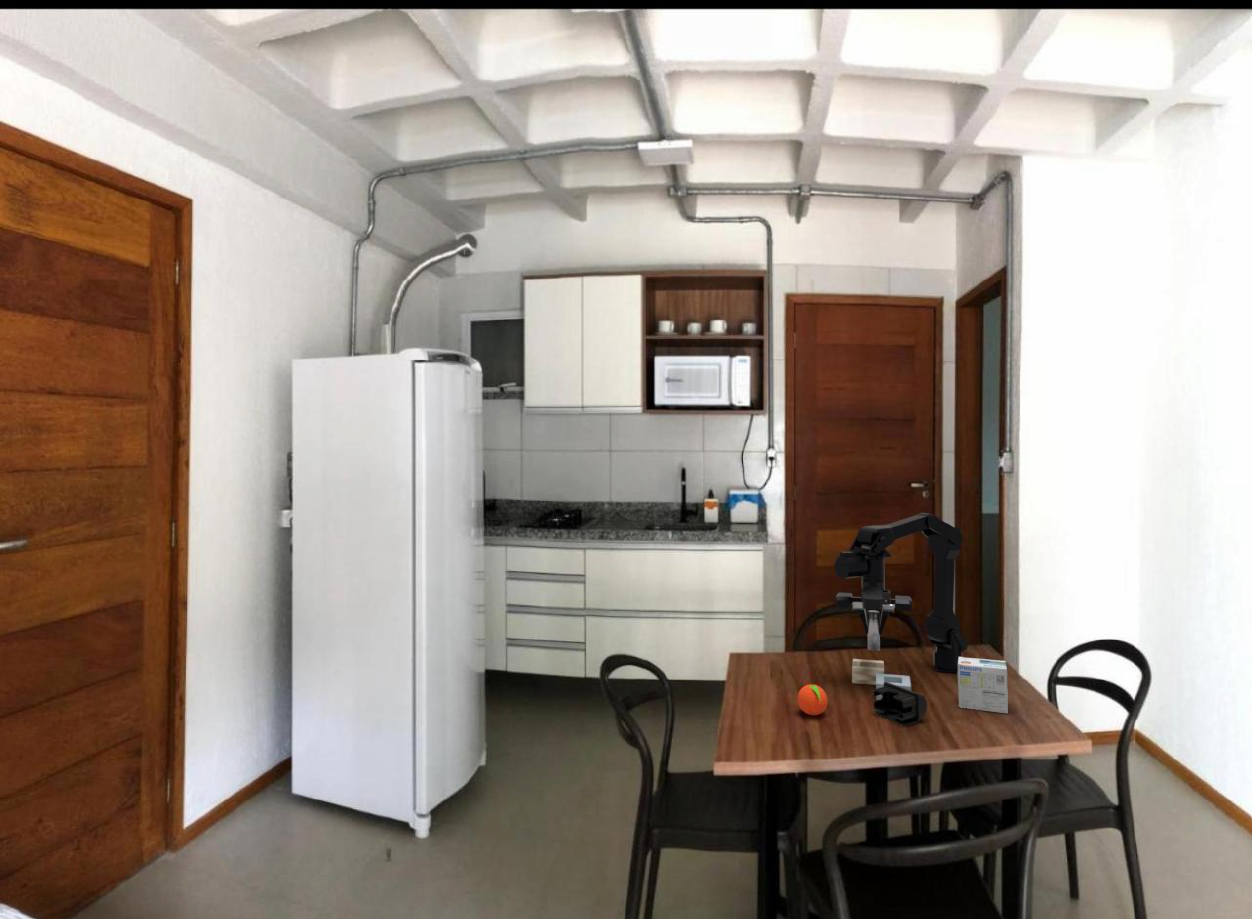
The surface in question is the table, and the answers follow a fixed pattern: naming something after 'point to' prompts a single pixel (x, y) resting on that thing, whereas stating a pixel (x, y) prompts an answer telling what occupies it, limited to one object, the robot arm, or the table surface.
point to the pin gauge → (873, 630)
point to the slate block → (892, 681)
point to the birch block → (866, 671)
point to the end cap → (899, 704)
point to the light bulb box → (982, 684)
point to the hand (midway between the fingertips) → (873, 634)
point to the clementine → (812, 699)
